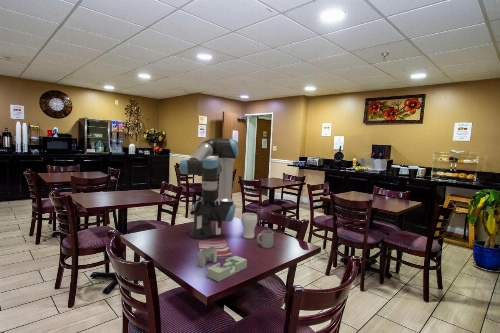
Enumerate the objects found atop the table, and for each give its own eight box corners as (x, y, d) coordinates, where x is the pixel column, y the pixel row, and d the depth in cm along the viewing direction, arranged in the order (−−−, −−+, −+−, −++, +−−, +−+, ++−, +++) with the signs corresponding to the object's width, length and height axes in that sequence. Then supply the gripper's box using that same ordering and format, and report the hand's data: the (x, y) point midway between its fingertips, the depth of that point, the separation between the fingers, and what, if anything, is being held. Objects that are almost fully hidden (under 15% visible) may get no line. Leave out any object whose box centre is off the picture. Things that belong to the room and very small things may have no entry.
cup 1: (259, 237, 186) (260, 215, 185) (246, 240, 180) (247, 217, 179) (250, 233, 195) (251, 211, 194) (237, 235, 189) (238, 213, 188)
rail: (218, 281, 124) (218, 272, 124) (206, 276, 129) (207, 267, 129) (246, 267, 140) (246, 259, 140) (235, 263, 145) (235, 255, 144)
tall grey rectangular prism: (202, 267, 138) (202, 253, 138) (197, 265, 140) (197, 251, 140) (216, 261, 146) (217, 248, 145) (211, 259, 148) (212, 246, 148)
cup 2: (273, 248, 168) (274, 233, 167) (256, 247, 168) (257, 233, 167) (272, 244, 175) (273, 230, 174) (256, 243, 175) (257, 229, 174)
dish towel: (225, 243, 175) (225, 239, 174) (232, 258, 152) (233, 253, 152) (197, 245, 170) (197, 240, 170) (201, 260, 148) (201, 255, 147)
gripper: (187, 186, 145) (186, 227, 147) (222, 193, 130) (221, 238, 131) (198, 185, 151) (197, 224, 152) (233, 191, 136) (231, 234, 137)
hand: (208, 231), depth 142 cm, fingers open, 13 cm apart
